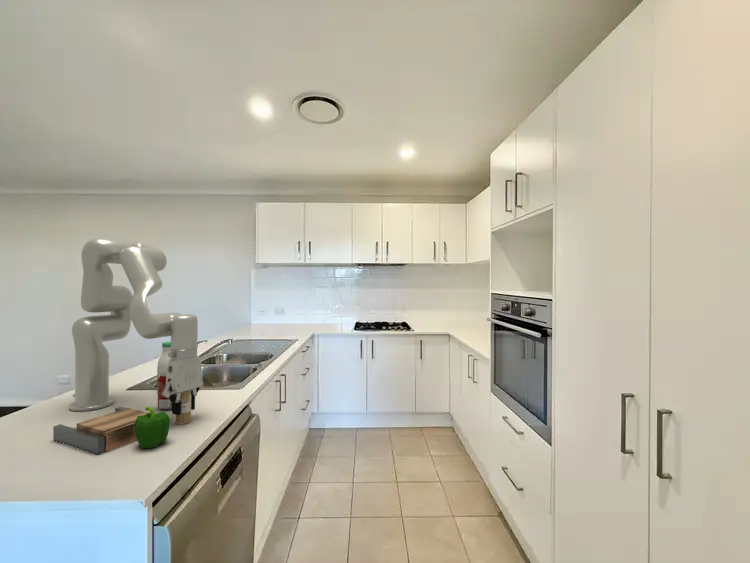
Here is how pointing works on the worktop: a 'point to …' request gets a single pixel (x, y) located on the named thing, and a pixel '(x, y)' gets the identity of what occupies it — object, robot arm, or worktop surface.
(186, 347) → the robot arm
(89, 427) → the slab
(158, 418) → the bell pepper
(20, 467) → the worktop surface
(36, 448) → the worktop surface
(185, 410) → the sprinkles bottle
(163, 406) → the soda can
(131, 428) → the roller track
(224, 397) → the worktop surface
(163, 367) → the milk bottle
